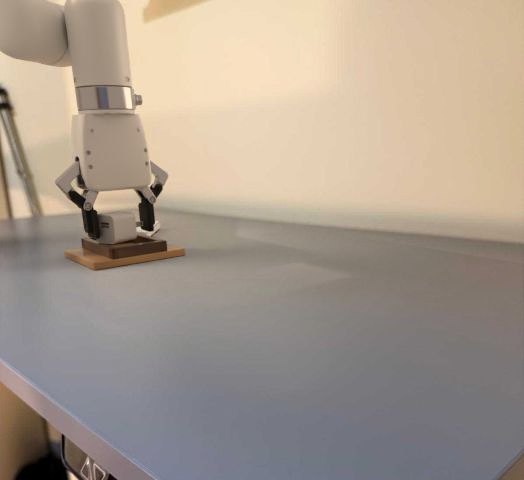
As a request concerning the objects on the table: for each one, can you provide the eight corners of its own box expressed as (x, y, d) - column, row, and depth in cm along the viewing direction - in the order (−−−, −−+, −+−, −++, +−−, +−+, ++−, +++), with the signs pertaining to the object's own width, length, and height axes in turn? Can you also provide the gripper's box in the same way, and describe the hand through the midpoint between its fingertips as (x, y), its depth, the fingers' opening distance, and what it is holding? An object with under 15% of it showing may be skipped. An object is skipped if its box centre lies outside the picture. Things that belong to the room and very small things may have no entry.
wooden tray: (64, 257, 81) (62, 240, 80) (149, 244, 89) (147, 229, 88) (94, 270, 72) (92, 251, 72) (185, 255, 80) (184, 238, 79)
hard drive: (117, 221, 104) (98, 232, 92) (160, 220, 104) (145, 230, 92) (118, 230, 104) (99, 241, 93) (160, 229, 104) (147, 240, 93)
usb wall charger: (96, 242, 78) (92, 213, 77) (129, 235, 84) (127, 208, 82) (116, 244, 76) (113, 215, 75) (149, 237, 82) (146, 210, 80)
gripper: (151, 105, 81) (162, 224, 87) (31, 104, 71) (54, 238, 78) (175, 102, 75) (185, 229, 82) (49, 100, 65) (72, 245, 72)
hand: (121, 233), depth 80 cm, fingers open, 7 cm apart
